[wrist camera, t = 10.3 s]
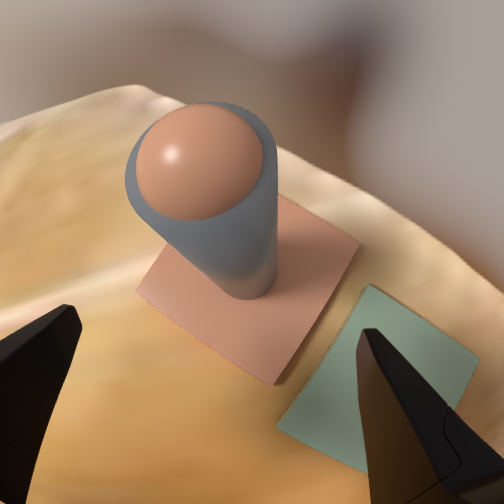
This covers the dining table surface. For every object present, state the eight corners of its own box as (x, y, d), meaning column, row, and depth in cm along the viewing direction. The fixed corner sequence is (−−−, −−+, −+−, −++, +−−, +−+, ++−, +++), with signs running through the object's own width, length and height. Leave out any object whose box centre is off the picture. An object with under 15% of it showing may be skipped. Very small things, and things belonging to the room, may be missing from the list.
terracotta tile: (356, 247, 21) (360, 243, 20) (271, 385, 19) (270, 387, 18) (227, 172, 23) (225, 165, 22) (140, 293, 21) (134, 291, 20)
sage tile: (473, 357, 18) (480, 358, 17) (397, 482, 16) (402, 487, 15) (364, 286, 20) (368, 283, 19) (276, 424, 18) (276, 428, 17)
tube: (280, 297, 19) (288, 201, 6) (217, 302, 20) (92, 226, 6) (274, 236, 20) (266, 60, 7) (213, 242, 21) (116, 88, 7)
